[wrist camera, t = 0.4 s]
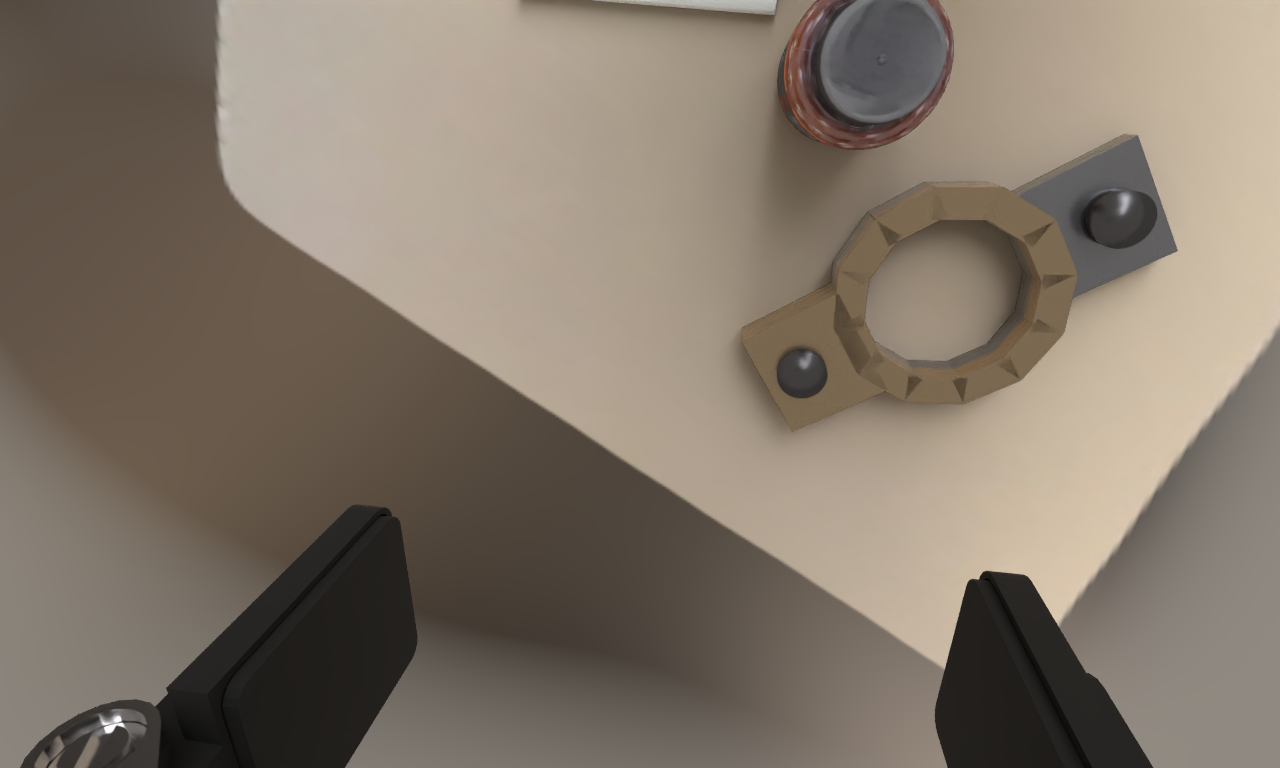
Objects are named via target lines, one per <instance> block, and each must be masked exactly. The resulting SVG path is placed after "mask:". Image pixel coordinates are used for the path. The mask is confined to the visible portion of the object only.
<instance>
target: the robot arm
mask: <svg viewBox="0 0 1280 768" xmlns="http://www.w3.org/2000/svg"><path fill="white" fill-rule="evenodd" d="M416 646H417V630H416V624H415V618H414V611H413V604H412V597H411V591H410V585H409V578H408V571H407V565H406V558H405V552H404V545H403V538H402V532H401V525H400V521H399V520H398V518H396V517H392V514H391V512H390V510H389V509H387V508H384V507H375V506H366V505H353V506H351V507H350V508H348V509H347V510H346V511H345V512H344V513H343V514H342V515H341V516H340V517H339V518H338V519H337V520H336V521H335V522H334V523H333V524H332V525H331V526H330V527H329V528H328V529H327V530H326V531H325V532H324V533H323V534H322V535H321V536H320V537H319V538H318V539H317V540H316V541H315V542H314V543H313V544H312V545H311V546H310V547H309V548H308V549H307V550H306V551H305V552H304V553H303V554H302V555H301V556H300V557H299V558H297V559H296V561H295V562H293V563H292V565H291V566H289V568H287V569H286V570H285V571H284V572H283V573H282V574H281V575H280V576H279V578H277V579H276V580H275V581H274V582H273V583H272V584H271V585H270V586H269V587H268V588H267V589H266V590H265V591H264V592H263V593H262V594H261V595H260V596H259V597H258V598H257V599H256V600H255V601H254V602H253V603H252V604H251V605H250V606H249V607H248V608H247V609H246V610H245V611H244V612H243V613H242V614H241V615H240V616H239V617H238V618H237V619H236V620H235V621H234V622H233V623H232V624H231V625H230V626H229V627H228V628H227V629H226V630H225V631H224V632H223V633H222V634H221V635H219V636H218V637H217V638H216V639H215V641H213V642H212V644H210V645H209V646H208V647H207V648H206V649H205V650H204V651H203V652H202V653H201V654H200V655H199V656H198V657H197V658H196V659H195V660H194V661H193V662H192V663H191V664H190V665H189V666H188V667H187V668H186V669H185V670H184V671H183V672H182V673H181V674H180V675H179V676H178V677H177V678H176V679H175V680H174V681H173V682H172V683H171V684H170V685H169V686H168V687H167V688H166V689H167V692H168V694H167V696H165V697H164V698H163V700H161V701H160V703H158V705H157V706H153V704H152V703H150V702H146V701H142V700H138V699H132V700H118V701H114V702H110V703H107V704H102V705H99V706H97V707H94V708H92V709H90V710H87V711H85V712H82V713H80V714H78V715H76V716H74V717H73V718H71V719H70V720H68V721H66V722H65V723H63V724H61V725H59V726H58V727H56V728H55V729H54V730H53V731H52V732H50V733H49V734H48V735H47V736H45V737H44V738H43V739H42V740H40V741H39V742H38V743H37V745H36V746H35V747H34V748H33V749H32V750H31V751H30V753H29V754H28V755H27V756H26V757H25V759H24V761H23V763H22V765H21V767H20V768H345V766H346V765H347V763H348V762H349V760H350V758H351V757H352V755H353V754H354V752H355V750H356V749H357V747H358V745H359V744H360V742H361V741H362V739H363V737H364V736H365V734H366V733H367V731H368V729H369V728H370V726H371V724H372V723H373V721H374V720H375V718H376V716H377V715H378V713H379V711H380V710H381V708H382V707H383V705H384V704H385V702H386V700H387V699H388V697H389V695H390V694H391V692H392V691H393V689H394V687H395V686H396V684H397V682H398V681H399V679H400V678H401V676H402V674H403V673H404V671H405V669H406V668H407V666H408V664H409V663H410V661H411V660H412V658H413V656H414V653H415V650H416ZM935 723H936V729H937V733H938V737H939V740H940V744H941V747H942V750H943V753H944V756H945V760H946V763H947V767H948V768H1153V767H1152V765H1151V763H1150V762H1149V760H1148V758H1147V757H1146V755H1145V753H1144V752H1143V750H1142V749H1141V747H1140V745H1139V744H1138V742H1137V741H1136V739H1135V737H1134V736H1133V734H1132V732H1131V731H1130V729H1129V727H1128V726H1127V724H1126V723H1125V721H1124V719H1123V718H1122V716H1121V714H1120V713H1119V711H1118V709H1117V708H1116V706H1115V704H1114V703H1113V701H1112V700H1111V698H1110V696H1109V695H1108V693H1107V691H1106V690H1105V688H1104V687H1103V686H1102V684H1101V683H1100V682H1099V681H1098V679H1097V678H1095V677H1094V676H1092V675H1091V674H1089V673H1086V672H1085V670H1084V669H1083V667H1082V665H1081V664H1080V662H1079V660H1078V659H1077V657H1076V655H1075V654H1074V652H1073V650H1072V649H1071V647H1070V645H1069V643H1068V642H1067V640H1066V638H1065V637H1064V635H1063V634H1062V632H1061V630H1060V628H1059V627H1058V625H1057V623H1056V622H1055V620H1054V618H1053V617H1052V615H1051V613H1050V612H1049V610H1048V608H1047V607H1046V605H1045V603H1044V602H1043V600H1042V598H1041V597H1040V595H1039V593H1038V592H1037V590H1036V588H1035V586H1034V585H1033V583H1032V581H1031V580H1030V579H1029V578H1028V577H1027V576H1025V575H1021V574H1011V573H1002V572H992V571H985V572H983V573H982V574H981V576H980V578H979V580H977V579H971V580H969V582H968V583H967V586H966V590H965V594H964V597H963V601H962V605H961V609H960V613H959V617H958V621H957V625H956V628H955V632H954V636H953V640H952V644H951V648H950V652H949V656H948V659H947V663H946V667H945V671H944V675H943V679H942V683H941V687H940V691H939V694H938V698H937V702H936V708H935Z"/></svg>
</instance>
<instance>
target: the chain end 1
mask: <svg viewBox="0 0 1280 768" xmlns="http://www.w3.org/2000/svg"><path fill="white" fill-rule="evenodd" d="M939 220H987V221H988V222H990V223H992V224H993V225H995V226H997V227H998V228H1000V229H1002V230H1003V231H1005V232H1006V233H1008V234H1010V235H1011V236H1013V237H1015V238H1016V239H1017V241H1018V243H1019V246H1020V248H1021V251H1022V253H1023V255H1024V258H1025V260H1026V263H1027V265H1028V267H1029V270H1030V272H1031V275H1032V280H1031V285H1030V289H1029V294H1028V299H1027V304H1026V308H1025V313H1024V318H1023V319H1022V320H1021V321H1020V322H1019V324H1018V325H1017V326H1016V327H1015V328H1014V329H1013V330H1012V332H1011V333H1010V334H1009V335H1008V336H1007V337H1006V339H1005V340H1004V341H1003V342H1002V343H1001V344H1000V345H999V347H998V348H997V349H996V350H995V351H994V352H992V353H990V354H987V355H985V356H983V357H980V358H978V359H976V360H973V361H971V362H969V363H967V364H964V365H962V366H960V367H957V368H955V369H932V368H911V367H909V366H907V365H906V364H904V363H902V362H901V361H899V360H897V359H895V358H894V357H892V356H890V355H889V354H887V353H885V352H884V351H882V350H880V349H879V348H878V347H877V345H876V343H875V341H874V339H873V337H872V335H871V333H870V331H869V329H868V327H867V325H866V323H865V321H864V318H865V309H866V300H867V292H868V283H869V279H870V277H871V276H872V275H873V273H874V272H875V271H876V269H877V268H878V266H879V265H880V264H881V262H882V261H883V260H884V258H885V257H886V256H887V254H888V253H889V251H890V250H891V249H892V247H893V246H894V245H895V243H896V242H898V241H900V240H902V239H904V238H906V237H908V236H910V235H912V234H914V233H915V232H917V231H919V230H921V229H923V228H925V227H927V226H929V225H931V224H933V223H935V222H937V221H939ZM1077 276H1078V275H1077V271H1076V268H1075V266H1074V263H1073V261H1072V258H1071V256H1070V253H1069V251H1068V248H1067V246H1066V243H1065V241H1064V238H1063V235H1062V233H1061V230H1060V228H1059V225H1058V223H1057V220H1056V219H1054V218H1053V217H1051V216H1050V215H1048V214H1046V213H1045V212H1043V211H1041V210H1040V209H1038V208H1037V207H1035V206H1033V205H1032V204H1030V203H1028V202H1027V201H1025V200H1024V199H1022V198H1020V197H1019V196H1017V195H1016V194H1014V193H1012V192H1011V191H1009V190H1007V189H1006V188H1004V187H1001V186H998V185H995V184H943V185H928V186H926V187H924V188H922V189H920V190H918V191H916V192H915V193H913V194H911V195H909V196H907V197H905V198H903V199H901V200H900V201H898V202H896V203H894V204H892V205H890V206H888V207H886V208H884V209H883V210H881V211H879V212H877V213H875V214H873V215H872V216H870V218H869V219H868V221H867V222H866V224H865V225H864V226H863V228H862V229H861V231H860V232H859V234H858V235H857V236H856V238H855V239H854V241H853V242H852V244H851V245H850V246H849V248H848V249H847V251H846V252H845V254H844V255H843V256H842V258H841V259H840V261H839V262H838V264H837V265H836V269H835V280H834V288H833V286H832V284H831V283H830V284H828V285H826V286H824V287H822V288H820V289H818V290H816V291H814V292H812V293H810V294H808V295H806V296H804V297H802V298H800V299H798V300H796V301H794V302H792V303H790V304H789V305H787V306H785V307H783V308H781V309H779V310H777V311H775V312H773V313H771V314H769V315H767V316H765V317H763V318H761V319H759V320H757V321H755V322H753V323H751V324H749V325H747V326H745V327H743V328H742V343H743V345H744V347H745V349H746V351H747V352H748V354H749V356H750V358H751V359H752V361H753V363H754V365H755V366H756V368H757V370H758V372H759V374H760V375H761V377H762V379H763V381H764V382H765V384H766V386H767V388H768V390H769V391H770V393H771V395H772V397H773V398H774V400H775V402H776V404H777V405H778V407H779V409H780V411H781V413H782V414H783V416H784V418H785V420H786V421H787V423H788V425H789V427H790V428H791V430H792V432H793V431H795V430H797V429H800V428H802V427H804V426H806V425H809V424H811V423H813V422H816V421H818V420H820V419H822V418H825V417H827V416H829V415H832V414H834V413H836V412H838V411H841V410H843V409H845V408H848V407H850V406H852V405H854V404H857V403H859V402H861V401H864V400H866V399H868V398H870V397H873V396H875V395H877V394H880V393H882V392H884V391H887V392H888V393H890V394H892V395H893V396H895V397H897V398H899V399H900V400H902V401H905V402H918V403H942V404H965V403H968V402H970V401H973V400H975V399H977V398H980V397H982V396H985V395H987V394H989V393H992V392H994V391H997V390H999V389H1002V388H1004V387H1006V386H1009V385H1011V384H1014V383H1016V382H1018V381H1021V380H1022V379H1023V378H1024V377H1025V376H1026V374H1027V373H1028V372H1029V371H1030V370H1031V369H1032V368H1033V367H1034V366H1035V365H1036V364H1037V362H1038V361H1039V360H1040V359H1041V358H1042V357H1043V356H1044V355H1045V354H1046V353H1047V351H1048V350H1049V349H1050V348H1051V347H1052V346H1053V345H1054V344H1055V343H1056V342H1057V341H1058V339H1059V338H1060V337H1061V336H1062V335H1063V333H1064V331H1065V326H1066V322H1067V318H1068V314H1069V310H1070V306H1071V301H1072V297H1073V293H1074V289H1075V285H1076V280H1077ZM1020 379H1021V380H1020Z"/></svg>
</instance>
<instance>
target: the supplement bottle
mask: <svg viewBox="0 0 1280 768" xmlns="http://www.w3.org/2000/svg"><path fill="white" fill-rule="evenodd" d="M953 56H954V41H953V33H952V28H951V25H950V21H949V19H948V17H947V15H946V12H945V10H944V8H943V7H942V6H941V5H940V3H939V1H938V0H817V1H816V2H815V3H814V4H813V5H812V6H811V7H810V8H809V10H808V11H807V12H806V14H805V15H804V16H803V18H802V19H801V21H800V22H799V24H798V25H797V27H796V28H795V31H794V32H793V34H792V36H791V38H790V40H789V42H788V44H787V46H786V48H785V50H784V53H783V55H782V58H781V61H780V64H779V70H778V79H777V83H778V93H779V97H780V102H781V105H782V107H783V110H784V112H785V114H786V116H787V118H788V119H789V121H790V122H791V123H792V124H793V125H794V127H795V128H796V129H797V130H799V131H800V132H801V133H802V134H804V135H805V136H807V137H809V138H811V139H813V140H816V141H818V142H821V143H825V144H828V145H831V146H834V147H838V148H842V149H849V150H864V149H871V148H876V147H880V146H883V145H886V144H889V143H891V142H893V141H896V140H898V139H900V138H902V137H903V136H905V135H907V134H908V133H910V132H911V131H912V130H913V129H915V128H916V127H917V126H918V125H919V124H920V123H921V122H922V121H923V120H924V119H925V118H926V117H927V116H928V115H929V114H930V113H931V111H932V110H933V109H934V107H935V106H936V105H937V103H938V101H939V99H940V98H941V96H942V94H943V93H944V91H945V88H946V85H947V83H948V82H949V78H950V73H951V69H952V63H953Z"/></svg>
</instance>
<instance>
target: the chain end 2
mask: <svg viewBox="0 0 1280 768" xmlns="http://www.w3.org/2000/svg"><path fill="white" fill-rule="evenodd" d="M943 184H992V183H989V182H923V183H921V184H919V185H917V186H915V187H913V188H911V189H910V190H908V191H906V192H904V193H902V194H900V195H898V196H897V197H895V198H893V199H891V200H889V201H887V202H885V203H883V204H882V205H880V206H878V207H876V208H874V209H872V210H870V211H868V213H866V215H865V216H864V218H863V219H862V220H861V222H860V223H859V225H858V226H857V228H856V229H855V230H854V232H853V233H852V235H851V236H850V238H849V239H848V240H847V242H846V243H845V245H844V246H843V248H842V249H841V251H840V252H839V253H838V255H837V256H836V258H835V259H834V262H833V268H832V279H831V284H832V286H833V288H834V280H835V269H836V265H837V264H838V262H839V261H840V259H841V258H842V256H843V255H844V254H845V252H846V251H847V249H848V248H849V246H850V245H851V244H852V242H853V241H854V239H855V238H856V236H857V235H858V234H859V232H860V231H861V229H862V228H863V226H864V225H865V224H866V222H867V221H868V219H869V218H870V216H872V215H873V214H875V213H877V212H879V211H881V210H883V209H884V208H886V207H888V206H890V205H892V204H894V203H896V202H898V201H900V200H901V199H903V198H905V197H907V196H909V195H911V194H913V193H915V192H916V191H918V190H920V189H922V188H924V187H926V186H928V185H943ZM1011 192H1012V193H1014V194H1016V195H1017V196H1019V197H1020V198H1022V199H1024V200H1025V201H1027V202H1028V203H1030V204H1032V205H1033V206H1035V207H1037V208H1038V209H1040V210H1041V211H1043V212H1045V213H1046V214H1048V215H1050V216H1051V217H1053V218H1054V219H1056V220H1057V223H1058V225H1059V228H1060V230H1061V233H1062V235H1063V238H1064V241H1065V243H1066V246H1067V248H1068V251H1069V253H1070V256H1071V258H1072V261H1073V263H1074V266H1075V268H1076V271H1077V275H1078V276H1077V280H1076V285H1075V289H1074V293H1073V297H1075V296H1077V295H1079V294H1082V293H1084V292H1086V291H1088V290H1091V289H1093V288H1095V287H1097V286H1100V285H1102V284H1104V283H1107V282H1109V281H1111V280H1113V279H1116V278H1118V277H1120V276H1122V275H1125V274H1127V273H1129V272H1131V271H1134V270H1136V269H1138V268H1140V267H1143V266H1145V265H1147V264H1149V263H1152V262H1154V261H1156V260H1158V259H1161V258H1163V257H1165V256H1167V255H1170V254H1172V253H1174V252H1176V251H1178V250H1177V247H1176V244H1175V242H1174V239H1173V236H1172V233H1171V230H1170V227H1169V224H1168V221H1167V218H1166V215H1165V213H1164V210H1163V207H1162V204H1161V201H1160V198H1159V195H1158V192H1157V189H1156V187H1155V184H1154V181H1153V178H1152V175H1151V172H1150V169H1149V166H1148V163H1147V160H1146V158H1145V155H1144V152H1143V149H1142V146H1141V143H1140V140H1139V137H1138V135H1127V134H1124V135H1122V136H1120V137H1118V138H1116V139H1114V140H1112V141H1110V142H1108V143H1106V144H1104V145H1102V146H1100V147H1098V148H1096V149H1094V150H1092V151H1090V152H1088V153H1086V154H1084V155H1082V156H1080V157H1078V158H1076V159H1074V160H1072V161H1070V162H1068V163H1066V164H1064V165H1062V166H1061V167H1059V168H1057V169H1055V170H1053V171H1051V172H1049V173H1047V174H1045V175H1043V176H1041V177H1039V178H1037V179H1035V180H1033V181H1031V182H1029V183H1027V184H1025V185H1023V186H1021V187H1019V188H1017V189H1015V190H1013V191H1011ZM985 221H987V220H985ZM987 222H988V221H987ZM988 223H990V222H988ZM990 224H992V223H990ZM992 225H993V224H992ZM993 226H995V225H993ZM995 227H997V226H995ZM997 228H998V227H997ZM998 229H1000V228H998ZM1000 230H1001V231H1003V230H1002V229H1000ZM1003 232H1005V231H1003ZM1005 233H1006V232H1005ZM1006 234H1008V233H1006ZM1008 236H1009V238H1010V241H1011V243H1012V246H1013V248H1014V250H1015V253H1016V255H1017V258H1018V260H1019V262H1020V265H1021V267H1022V270H1023V274H1022V279H1021V284H1020V289H1019V294H1018V298H1017V303H1016V308H1015V312H1014V313H1013V314H1012V315H1011V316H1010V318H1009V319H1008V320H1007V321H1006V322H1005V323H1004V324H1003V326H1002V327H1001V328H1000V329H999V330H998V331H997V333H996V334H995V335H994V336H993V337H992V338H991V340H990V341H989V342H988V343H987V344H986V345H983V346H981V347H979V348H976V349H974V350H972V351H970V352H967V353H965V354H963V355H961V356H958V357H956V358H954V359H951V360H949V361H921V360H905V359H904V358H902V357H900V356H899V355H897V354H895V353H894V352H892V351H890V350H889V349H887V348H885V347H884V346H882V345H880V344H878V343H877V342H875V343H876V345H877V347H878V348H879V349H880V350H882V351H884V352H885V353H887V354H889V355H890V356H892V357H894V358H895V359H897V360H899V361H901V362H902V363H904V364H906V365H907V366H909V367H911V368H932V369H955V368H957V367H960V366H962V365H964V364H967V363H969V362H971V361H973V360H976V359H978V358H980V357H983V356H985V355H987V354H990V353H992V352H994V351H995V350H996V349H997V348H998V347H999V345H1000V344H1001V343H1002V342H1003V341H1004V340H1005V339H1006V337H1007V336H1008V335H1009V334H1010V333H1011V332H1012V330H1013V329H1014V328H1015V327H1016V326H1017V325H1018V324H1019V322H1020V321H1021V320H1022V319H1023V318H1024V313H1025V308H1026V304H1027V299H1028V294H1029V289H1030V285H1031V280H1032V275H1031V272H1030V270H1029V267H1028V265H1027V263H1026V260H1025V258H1024V255H1023V253H1022V251H1021V248H1020V246H1019V243H1018V241H1017V239H1016V238H1015V237H1013V236H1011V235H1010V234H1008ZM1073 297H1072V298H1073Z"/></svg>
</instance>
